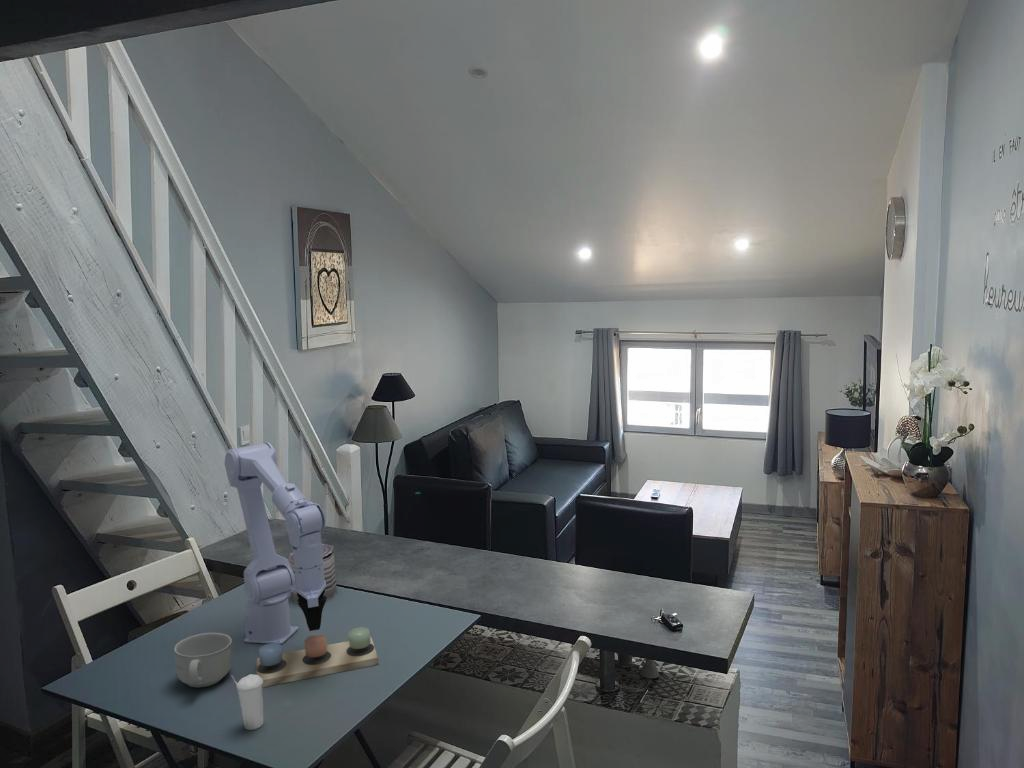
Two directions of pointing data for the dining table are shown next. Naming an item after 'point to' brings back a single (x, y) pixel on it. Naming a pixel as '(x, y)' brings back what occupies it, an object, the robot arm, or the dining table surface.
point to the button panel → (317, 663)
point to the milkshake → (251, 700)
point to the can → (328, 572)
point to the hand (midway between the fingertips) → (314, 626)
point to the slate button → (270, 654)
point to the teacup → (203, 659)
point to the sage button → (359, 637)
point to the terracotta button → (315, 646)
